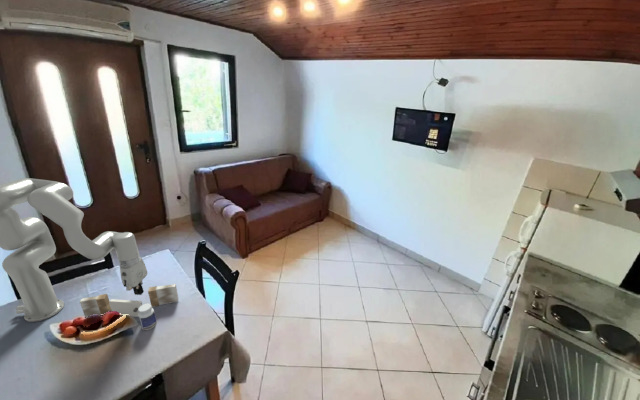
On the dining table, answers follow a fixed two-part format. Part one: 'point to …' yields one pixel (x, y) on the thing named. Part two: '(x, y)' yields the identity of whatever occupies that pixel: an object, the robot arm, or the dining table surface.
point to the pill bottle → (146, 317)
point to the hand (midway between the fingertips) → (139, 293)
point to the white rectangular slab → (125, 306)
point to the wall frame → (155, 293)
